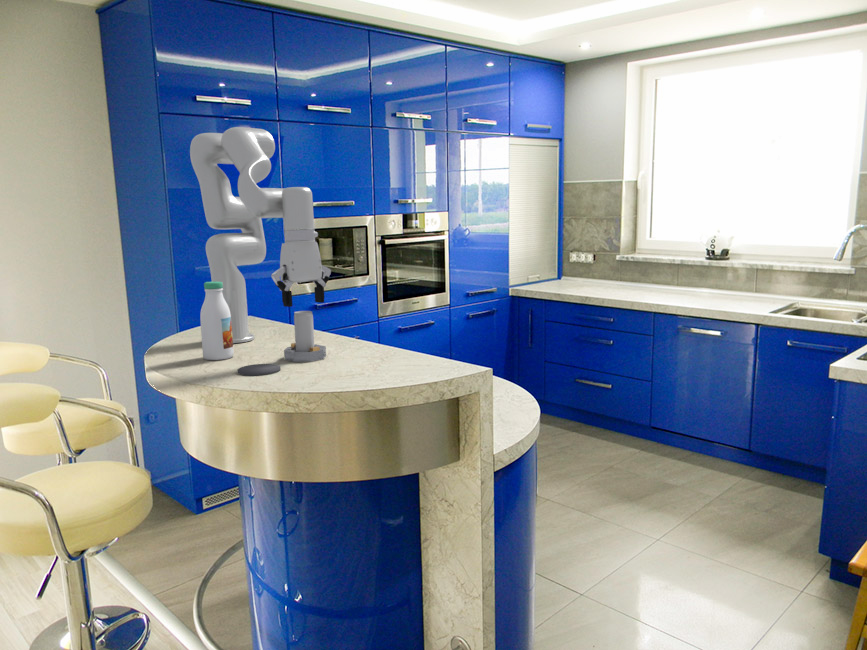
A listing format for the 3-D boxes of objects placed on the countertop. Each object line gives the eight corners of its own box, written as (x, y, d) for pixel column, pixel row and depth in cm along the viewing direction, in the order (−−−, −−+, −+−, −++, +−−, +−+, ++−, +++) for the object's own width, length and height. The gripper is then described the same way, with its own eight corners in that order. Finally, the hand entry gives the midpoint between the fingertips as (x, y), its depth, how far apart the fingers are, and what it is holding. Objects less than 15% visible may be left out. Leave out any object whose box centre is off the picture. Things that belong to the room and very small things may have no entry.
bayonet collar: (278, 358, 178) (277, 345, 177) (310, 352, 185) (309, 340, 184) (300, 363, 171) (299, 350, 170) (332, 357, 178) (332, 344, 177)
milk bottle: (214, 362, 175) (209, 284, 171) (197, 358, 179) (191, 282, 176) (239, 356, 181) (234, 281, 177) (222, 353, 185) (216, 280, 182)
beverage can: (310, 360, 175) (308, 313, 173) (293, 359, 176) (290, 313, 174) (317, 356, 180) (315, 310, 178) (300, 355, 181) (298, 310, 179)
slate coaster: (229, 371, 164) (229, 368, 164) (266, 364, 171) (266, 361, 171) (251, 377, 157) (251, 375, 157) (288, 370, 164) (288, 367, 164)
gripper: (319, 235, 181) (323, 300, 184) (261, 238, 169) (266, 307, 172) (336, 235, 176) (340, 301, 178) (278, 238, 164) (283, 309, 166)
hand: (304, 304), depth 175 cm, fingers open, 9 cm apart
